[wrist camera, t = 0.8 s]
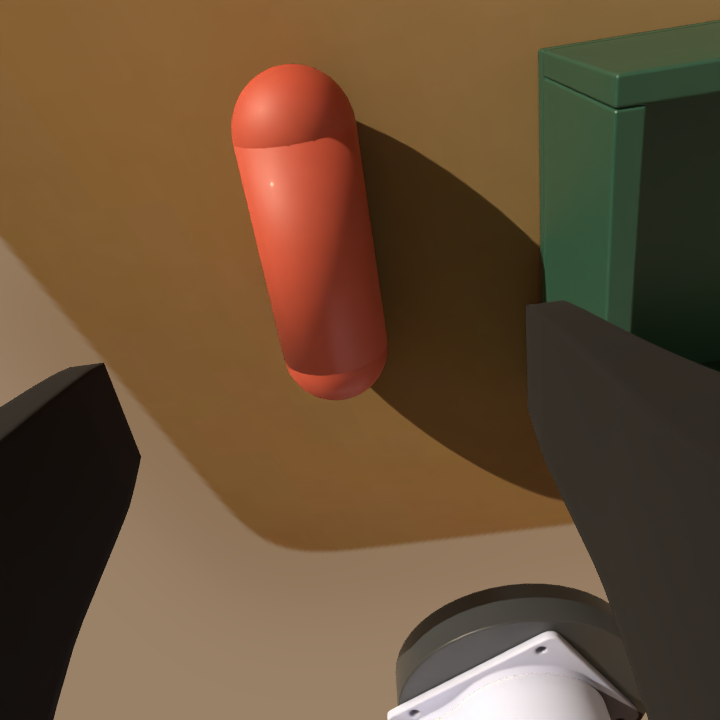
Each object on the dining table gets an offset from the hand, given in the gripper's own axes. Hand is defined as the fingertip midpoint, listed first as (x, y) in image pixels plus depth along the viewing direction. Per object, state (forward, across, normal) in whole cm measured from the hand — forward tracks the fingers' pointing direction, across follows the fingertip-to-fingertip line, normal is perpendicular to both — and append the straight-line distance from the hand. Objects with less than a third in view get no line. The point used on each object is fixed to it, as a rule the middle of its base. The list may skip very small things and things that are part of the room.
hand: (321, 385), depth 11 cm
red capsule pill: (+8, 0, 0) cm, 8 cm away
